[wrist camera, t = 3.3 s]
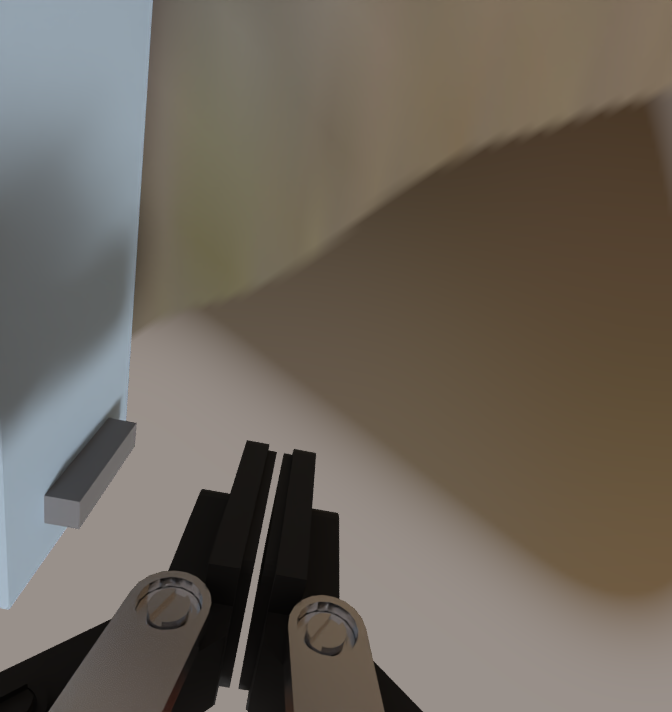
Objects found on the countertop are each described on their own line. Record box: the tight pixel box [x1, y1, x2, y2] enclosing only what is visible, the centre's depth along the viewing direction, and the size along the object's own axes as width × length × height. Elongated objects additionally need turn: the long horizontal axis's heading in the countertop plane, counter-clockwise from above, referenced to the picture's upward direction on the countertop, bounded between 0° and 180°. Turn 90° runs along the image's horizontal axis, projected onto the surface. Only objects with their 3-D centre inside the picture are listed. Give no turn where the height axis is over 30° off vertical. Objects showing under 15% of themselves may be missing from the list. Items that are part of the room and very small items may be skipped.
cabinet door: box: [0, 0, 153, 609], centre depth 14 cm, size 18×2×8 cm, turn 168°
